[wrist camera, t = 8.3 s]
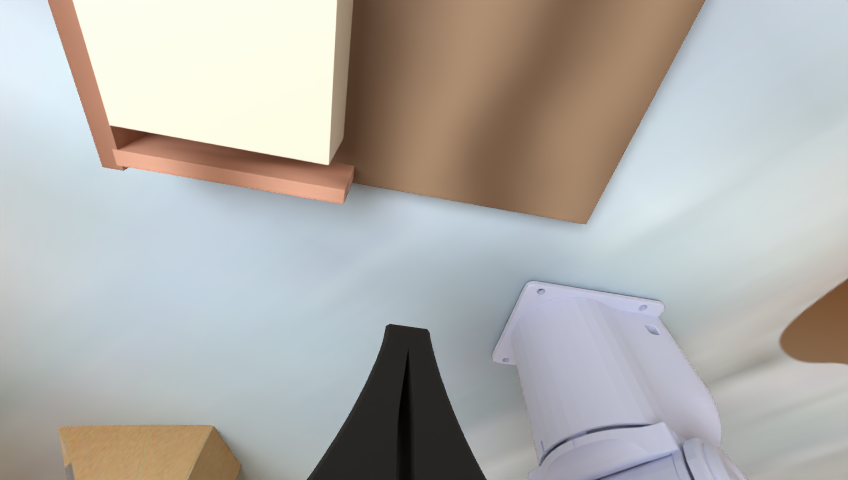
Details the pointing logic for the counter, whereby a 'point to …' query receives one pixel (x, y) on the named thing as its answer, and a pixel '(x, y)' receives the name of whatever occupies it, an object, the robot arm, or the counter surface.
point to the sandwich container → (146, 453)
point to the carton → (225, 70)
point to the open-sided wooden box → (450, 103)
